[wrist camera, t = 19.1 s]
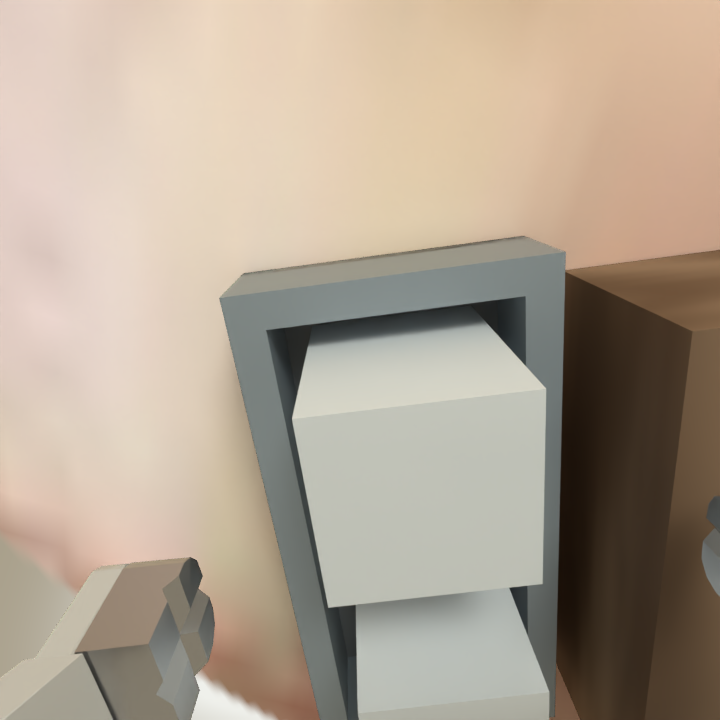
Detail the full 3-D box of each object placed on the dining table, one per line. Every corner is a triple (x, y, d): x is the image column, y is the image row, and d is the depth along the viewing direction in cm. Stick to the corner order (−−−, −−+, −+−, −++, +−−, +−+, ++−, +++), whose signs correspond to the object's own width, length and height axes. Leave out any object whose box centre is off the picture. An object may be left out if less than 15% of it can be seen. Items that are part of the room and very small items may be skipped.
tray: (523, 236, 12) (565, 251, 10) (526, 642, 17) (554, 716, 15) (243, 273, 12) (219, 297, 10) (328, 665, 17) (325, 742, 15)
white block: (471, 305, 12) (546, 388, 8) (476, 443, 14) (542, 583, 9) (312, 325, 12) (292, 419, 8) (334, 460, 14) (328, 607, 9)
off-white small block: (485, 527, 15) (549, 692, 10) (490, 624, 16) (547, 807, 12) (354, 543, 15) (357, 713, 10) (370, 638, 16) (379, 824, 12)
